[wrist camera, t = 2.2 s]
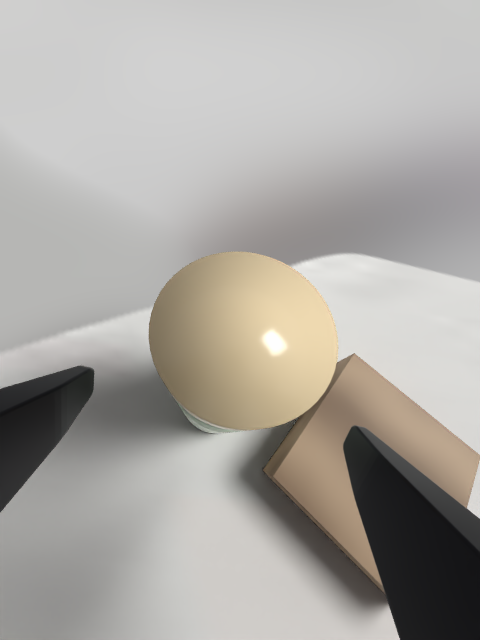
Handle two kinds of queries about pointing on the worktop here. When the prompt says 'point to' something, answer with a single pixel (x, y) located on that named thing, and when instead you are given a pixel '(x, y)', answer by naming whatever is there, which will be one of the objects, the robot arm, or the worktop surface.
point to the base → (330, 465)
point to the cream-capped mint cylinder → (242, 342)
